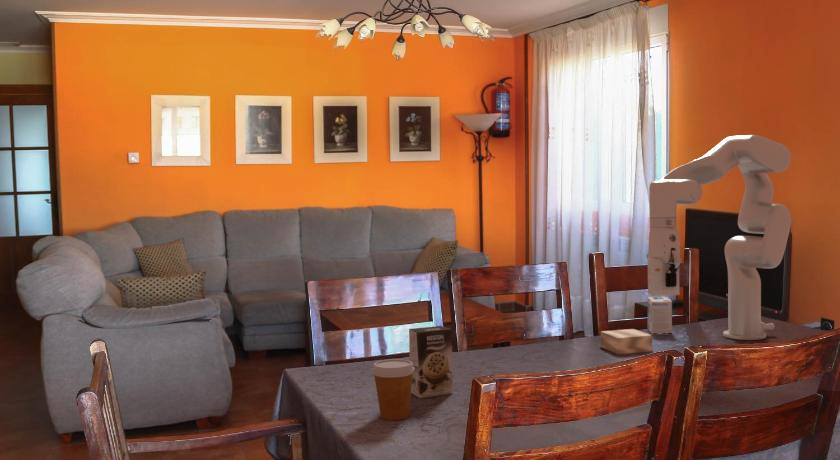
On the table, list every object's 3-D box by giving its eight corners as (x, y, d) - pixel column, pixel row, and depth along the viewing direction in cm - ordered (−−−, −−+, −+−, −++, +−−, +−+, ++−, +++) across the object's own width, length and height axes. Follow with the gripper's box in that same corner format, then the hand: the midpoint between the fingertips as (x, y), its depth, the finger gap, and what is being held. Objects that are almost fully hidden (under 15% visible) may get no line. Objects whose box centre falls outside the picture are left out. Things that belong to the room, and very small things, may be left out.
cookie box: (419, 398, 203) (417, 332, 202) (409, 392, 209) (407, 328, 207) (454, 393, 206) (452, 328, 205) (442, 388, 212) (441, 324, 211)
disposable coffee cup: (376, 410, 194) (375, 358, 193) (417, 410, 193) (416, 358, 192) (370, 422, 184) (368, 368, 184) (413, 422, 184) (412, 368, 183)
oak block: (633, 344, 258) (633, 328, 258) (652, 352, 248) (652, 335, 247) (600, 347, 256) (600, 331, 255) (618, 355, 245) (618, 338, 245)
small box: (675, 292, 247) (675, 256, 246) (679, 295, 241) (679, 258, 240) (647, 293, 247) (647, 257, 247) (651, 295, 242) (651, 259, 241)
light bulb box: (647, 328, 282) (646, 296, 282) (667, 328, 281) (667, 296, 281) (651, 334, 272) (651, 301, 271) (673, 334, 271) (672, 301, 270)
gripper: (692, 224, 236) (692, 287, 237) (657, 221, 252) (658, 280, 253) (668, 225, 233) (669, 289, 235) (635, 222, 250) (636, 282, 251)
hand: (663, 284), depth 244 cm, fingers closed on small box, 7 cm apart
